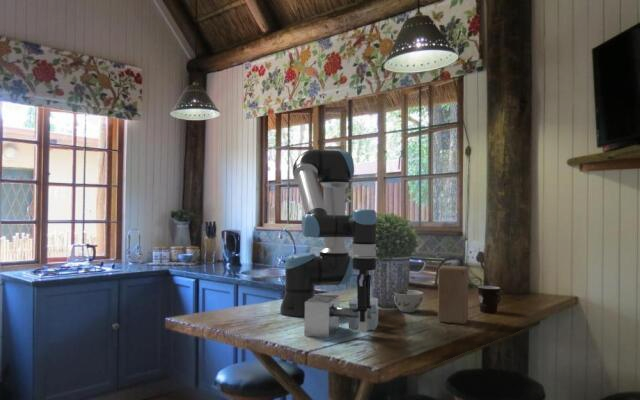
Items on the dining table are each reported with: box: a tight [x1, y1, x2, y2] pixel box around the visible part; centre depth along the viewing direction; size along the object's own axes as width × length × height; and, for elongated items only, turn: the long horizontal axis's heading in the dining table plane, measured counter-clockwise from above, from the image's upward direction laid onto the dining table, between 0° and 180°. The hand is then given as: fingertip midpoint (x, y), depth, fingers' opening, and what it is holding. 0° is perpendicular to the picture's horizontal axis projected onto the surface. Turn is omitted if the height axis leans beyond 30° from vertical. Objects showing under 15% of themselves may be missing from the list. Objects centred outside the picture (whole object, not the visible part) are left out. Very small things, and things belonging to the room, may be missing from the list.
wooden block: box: [437, 265, 469, 325], centre depth 189 cm, size 10×10×20 cm
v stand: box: [348, 296, 379, 331], centre depth 178 cm, size 9×9×10 cm
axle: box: [331, 306, 371, 319], centre depth 165 cm, size 16×3×3 cm, turn 76°
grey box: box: [303, 293, 340, 338], centre depth 170 cm, size 8×16×11 cm, turn 166°
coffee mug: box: [477, 285, 501, 314], centre depth 206 cm, size 12×9×10 cm
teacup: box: [393, 289, 424, 313], centre depth 208 cm, size 15×12×8 cm
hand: (363, 330), depth 163 cm, fingers closed on axle, 3 cm apart
